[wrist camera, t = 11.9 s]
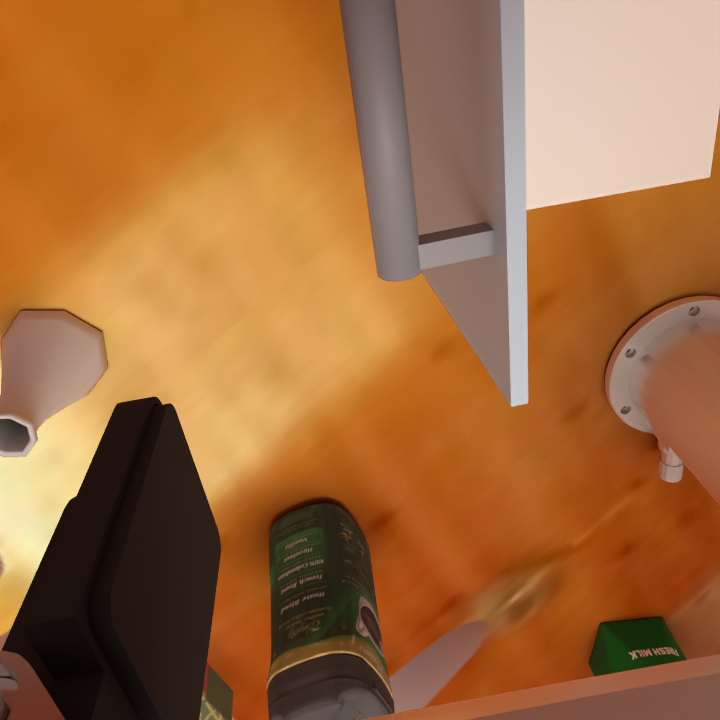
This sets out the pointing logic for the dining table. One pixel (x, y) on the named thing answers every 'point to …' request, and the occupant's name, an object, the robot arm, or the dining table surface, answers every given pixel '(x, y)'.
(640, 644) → the milk carton
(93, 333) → the flask
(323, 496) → the dining table surface
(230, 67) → the dining table surface
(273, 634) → the coffee jar
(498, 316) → the lid flap
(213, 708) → the carton
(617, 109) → the box body
